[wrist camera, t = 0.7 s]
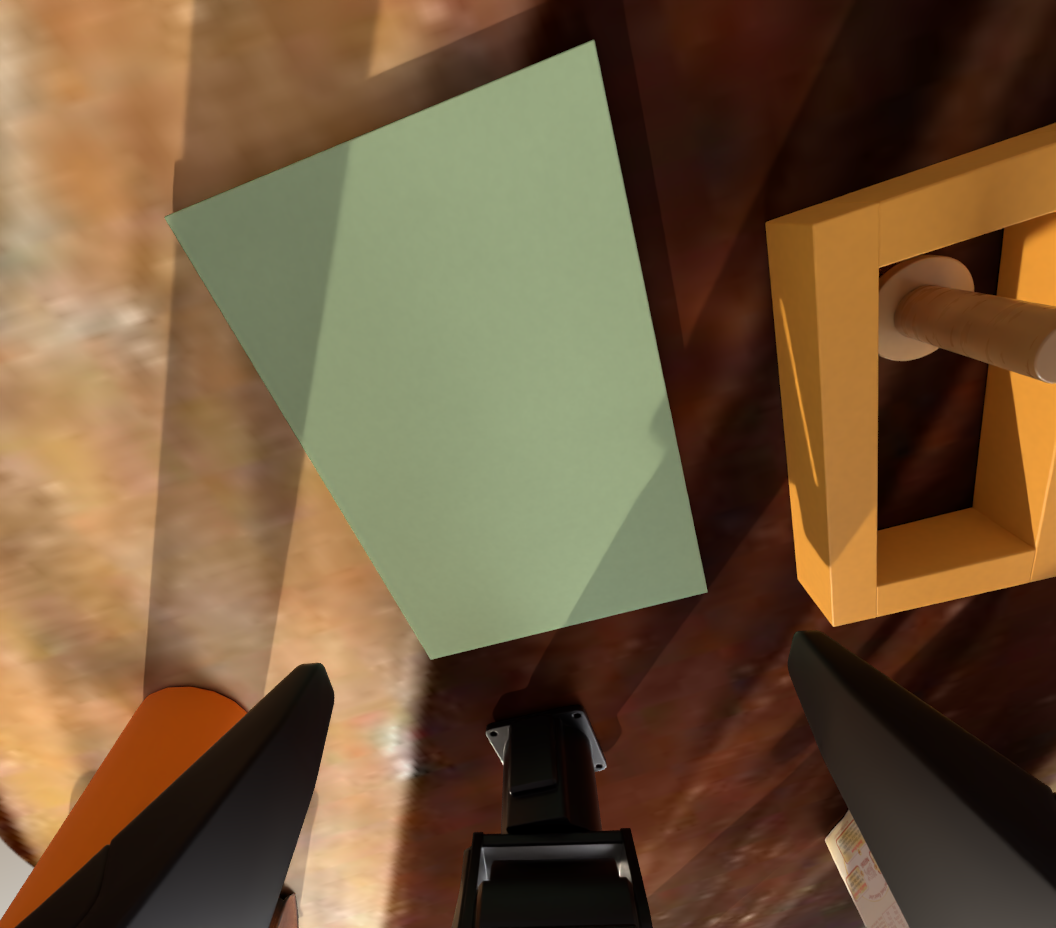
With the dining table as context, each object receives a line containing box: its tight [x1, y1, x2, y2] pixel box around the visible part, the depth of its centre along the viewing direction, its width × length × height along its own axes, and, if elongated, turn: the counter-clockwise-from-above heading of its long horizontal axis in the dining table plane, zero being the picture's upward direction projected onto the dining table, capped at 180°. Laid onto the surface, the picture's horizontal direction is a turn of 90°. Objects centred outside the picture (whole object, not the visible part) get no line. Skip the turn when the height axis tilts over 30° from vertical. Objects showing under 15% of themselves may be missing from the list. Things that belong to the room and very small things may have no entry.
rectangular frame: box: [765, 123, 1056, 627], centre depth 20 cm, size 18×10×3 cm, turn 18°
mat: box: [165, 40, 707, 659], centre depth 22 cm, size 24×16×1 cm, turn 18°
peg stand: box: [878, 255, 1056, 384], centre depth 17 cm, size 4×4×7 cm
